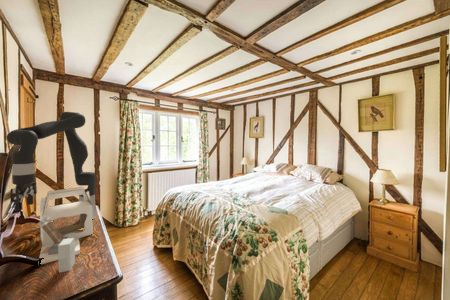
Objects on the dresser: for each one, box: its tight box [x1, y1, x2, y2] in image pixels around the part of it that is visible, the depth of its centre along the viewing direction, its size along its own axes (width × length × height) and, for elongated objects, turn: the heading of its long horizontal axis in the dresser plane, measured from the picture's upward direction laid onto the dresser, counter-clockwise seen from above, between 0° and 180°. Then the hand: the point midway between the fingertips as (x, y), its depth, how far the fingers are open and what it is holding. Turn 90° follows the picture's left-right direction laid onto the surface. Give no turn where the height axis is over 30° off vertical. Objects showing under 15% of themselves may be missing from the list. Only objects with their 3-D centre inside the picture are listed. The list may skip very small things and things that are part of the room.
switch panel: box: [38, 236, 81, 265], centre depth 99 cm, size 14×15×6 cm
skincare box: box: [57, 238, 76, 274], centre depth 87 cm, size 6×4×12 cm
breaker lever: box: [37, 216, 64, 244], centre depth 97 cm, size 6×2×14 cm, turn 18°
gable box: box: [39, 186, 94, 247], centre depth 113 cm, size 22×13×28 cm, turn 137°
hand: (24, 207), depth 93 cm, fingers open, 8 cm apart
